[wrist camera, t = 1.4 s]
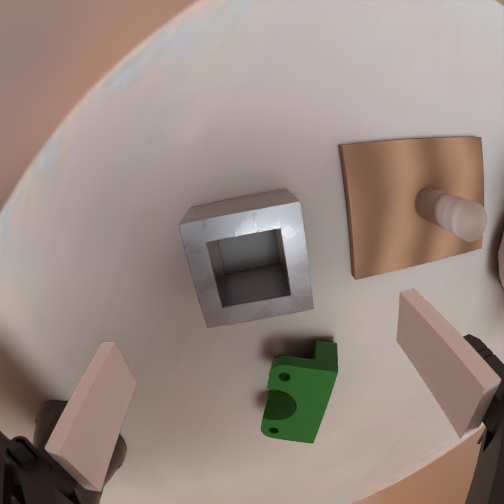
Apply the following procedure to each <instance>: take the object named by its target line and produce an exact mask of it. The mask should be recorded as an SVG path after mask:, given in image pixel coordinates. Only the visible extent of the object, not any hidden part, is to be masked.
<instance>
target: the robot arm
mask: <svg viewBox="0 0 504 504" xmlns="http://www.w3.org/2000/svg"><path fill="white" fill-rule="evenodd" d="M396 341H397V342H398V343H399V345H400V346H401V348H402V349H403V351H404V352H405V354H406V355H407V356H408V358H409V359H410V361H411V362H412V364H413V365H414V367H415V368H416V370H417V371H418V373H419V374H420V376H421V377H422V379H423V380H424V382H425V383H426V385H427V386H428V388H429V389H430V391H431V392H432V394H433V395H434V397H435V399H436V400H437V402H438V403H439V405H440V406H441V408H442V410H443V411H444V413H445V414H446V416H447V418H448V419H449V421H450V422H451V424H452V426H453V427H454V429H455V431H456V432H457V434H458V436H459V437H460V439H463V438H465V437H467V436H469V435H471V434H472V433H474V432H476V431H477V430H478V428H479V426H480V424H481V422H483V423H484V425H485V426H486V428H485V430H484V432H483V433H482V435H481V437H480V439H479V441H478V443H477V444H480V442H481V441H482V443H481V448H480V452H479V456H478V461H477V465H476V468H475V472H474V476H473V480H472V483H471V486H470V489H469V493H468V496H467V499H466V502H465V504H504V364H503V363H502V362H501V361H500V360H499V359H498V358H497V357H496V355H495V354H494V355H493V352H492V351H491V350H490V349H489V348H487V346H486V345H485V344H484V343H483V342H482V341H481V340H480V339H478V338H476V337H474V336H472V335H470V334H469V335H466V336H464V337H462V336H461V335H460V334H459V332H458V331H457V330H456V329H455V328H454V327H453V326H452V325H451V324H450V323H449V322H448V321H447V320H446V319H445V318H444V317H443V316H442V315H441V314H440V313H439V312H438V311H437V310H436V309H435V308H434V307H433V306H432V305H431V304H430V303H429V302H428V301H427V300H426V299H425V298H424V297H423V296H421V295H420V294H419V293H418V292H417V291H416V290H415V289H414V288H413V289H410V290H406V291H402V292H400V299H399V316H398V329H397V340H396ZM136 385H137V383H136V382H135V380H134V378H133V376H132V374H131V372H130V370H129V368H128V366H127V364H126V362H125V360H124V358H123V356H122V354H121V352H120V349H119V347H118V345H117V343H116V341H110V342H102V344H101V345H100V347H99V349H98V350H97V352H96V354H95V355H94V357H93V359H92V360H91V362H90V364H89V366H88V367H87V369H86V371H85V373H84V374H83V376H82V378H81V380H80V381H79V383H78V385H77V387H76V389H75V390H74V392H73V394H72V396H71V398H70V400H69V401H65V402H62V401H48V402H46V403H44V404H43V405H42V407H41V408H40V410H39V412H38V413H37V416H36V422H35V423H36V428H35V433H34V439H33V445H32V444H31V442H30V441H29V440H28V439H27V438H25V437H23V436H18V437H15V438H13V439H11V440H9V439H8V438H7V437H6V436H5V435H4V434H3V433H2V432H1V431H0V504H99V503H100V499H101V495H102V492H103V488H104V486H105V485H106V484H107V482H108V481H109V480H110V478H111V477H112V476H113V474H114V473H115V472H116V470H117V469H118V468H119V467H120V466H121V465H122V464H123V462H124V458H125V455H126V451H127V449H126V445H125V442H124V441H123V439H122V437H121V436H120V435H119V433H120V430H121V427H122V424H123V421H124V418H125V415H126V412H127V409H128V407H129V404H130V401H131V398H132V395H133V393H134V390H135V387H136Z"/></svg>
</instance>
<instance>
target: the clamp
mask: <svg viewBox="0 0 504 504" xmlns="http://www.w3.org/2000/svg"><path fill="white" fill-rule="evenodd" d="M337 374H338V356H337V343H333V342H326V341H318V340H316V342H315V347H314V351H313V356H312V359H306V358H299V357H293V356H280V357H275V359H274V361H273V362H272V366H271V369H270V373H269V380H268V386H267V389H277V390H281V391H274V390H270V391H269V395H268V399H267V403H266V407H265V411H264V414H263V419H262V425H261V432H262V433H263V434H264V435H266V436H268V437H271V438H277V439H283V440H290V441H297V442H305V443H314V440H315V437H316V435H317V432H318V429H319V427H320V424H321V421H322V418H323V416H324V413H325V410H326V407H327V404H328V401H329V398H330V395H331V392H332V389H333V386H334V383H335V380H336V377H337Z"/></svg>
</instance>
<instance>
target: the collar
mask: <svg viewBox="0 0 504 504" xmlns="http://www.w3.org/2000/svg"><path fill="white" fill-rule="evenodd" d="M179 229H180V233H181V237H182V241H183V245H184V249H185V252H186V256H187V260H188V263H189V267H190V271H191V274H192V278H193V282H194V285H195V289H196V292H197V296H198V299H199V302H200V306H201V309H202V313H203V316H204V319H205V322H206V326H207V328H209V327H216V326H222V325H229V324H235V323H241V322H247V321H253V320H258V319H264V318H269V317H275V316H280V315H285V314H291V313H296V312H301V311H306V310H311V309H314V307H313V298H312V289H311V280H310V272H309V264H308V256H307V248H306V240H305V233H304V226H303V219H302V212H301V205H300V201H299V200H298V199H297V198H296V197H295V196H294V195H293V194H292V193H290V192H289V191H288V190H287V189H282V190H277V191H271V192H265V193H260V194H254V195H249V196H244V197H239V198H233V199H228V200H223V201H218V202H213V203H209V204H204V205H199V206H194V207H192V208H191V209H190V210H189V212H188V213H187V214H186V216H185V217H184V218H183V220H182V221H181V222H180V224H179ZM273 229H275V231H276V237H277V243H278V249H279V255H280V261H281V264H278V265H273V266H268V267H262V268H257V269H251V270H246V271H241V272H235V273H230V274H225V270H224V266H223V261H222V257H221V253H220V248H219V244H218V240H219V239H225V238H230V237H235V236H240V235H246V234H251V233H256V232H262V231H267V230H273Z"/></svg>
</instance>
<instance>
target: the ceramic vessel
mask: <svg viewBox="0 0 504 504" xmlns="http://www.w3.org/2000/svg"><path fill="white" fill-rule="evenodd" d="M498 261H499V277H500V281H501V284H502V286H503V288H504V232H503V236H502V240H501V244H500V247H499V251H498Z"/></svg>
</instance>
